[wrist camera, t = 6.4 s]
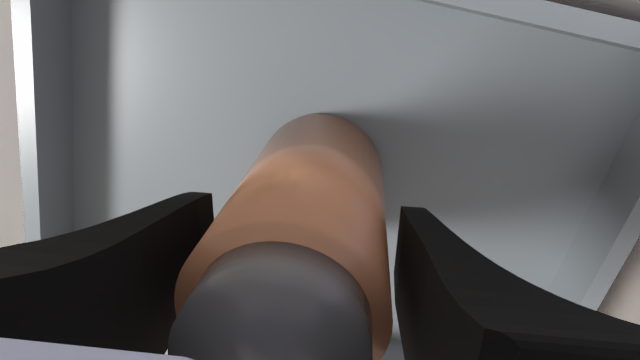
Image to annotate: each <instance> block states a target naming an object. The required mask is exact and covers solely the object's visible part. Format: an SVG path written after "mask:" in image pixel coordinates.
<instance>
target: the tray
mask: <svg viewBox="0 0 640 360" xmlns="http://www.w3.org/2000/svg"><path fill="white" fill-rule="evenodd" d="M11 15H12V32H13V48H14V65H15V82H16V98H17V115H18V131H19V148H20V164H21V181H22V197H23V214H24V231H25V243H27V242H32V241H37V240H42V239H46V238H50V237H55V236H58V235H62V234H66V233H70V232H74V231H77V230H80V229H84V228H87V227H90V226H94V225H97V224H100V223H102V222H105V221H108V220H111V219H114V218H117V217H120V216H122V215H125V214H128V213H131V212H134V211H136V210H139V209H141V208H144V207H146V206H149V205H152V204H154V203H157V202H159V201H162V200H165V199H167V198H170V197H173V196H176V195H179V194H182V193H186V192H203V193H212V199H213V213H214V219H215V218H216V216H217V215H218V214H219V212H220V211H221V209H222V208H223V206H224V205H225V203H226V202H227V201H228V199H229V198H230V196H231V195H232V193H233V192H234V190H235V189H236V187H237V186H238V185H239V183H240V182H241V180H242V179H243V177H244V176H245V174H246V173H247V172H248V170H249V169H250V167H251V166H252V164H253V163H254V161H255V160H256V159H257V157H258V156H259V154H260V153H261V151H262V150H263V148H264V147H265V146H266V144H267V143H268V141H269V140H270V138H271V137H272V136H273V134H274V133H275V132H276V131H277V130H278V129H279V128H280V127H282V126H283V125H285V124H286V123H288V122H289V121H291V120H293V119H296V118H298V117H301V116H305V115H311V114H327V115H334V116H337V117H341V118H343V119H346V120H348V121H350V122H352V123H353V124H355V125H357V126H358V127H359V128H360V129H362V130H363V131H364V132H365V133H366V134H367V135H368V136H369V137H370V139H371V140H372V142H373V143H374V145H375V147H376V148H377V150H378V153H379V156H380V159H381V163H382V173H383V187H384V201H385V215H386V229H387V243H388V257H389V271H390V285H391V299H392V313H393V328H392V335H391V339H390V343H389V346H388V348H387V350H386V352H385V354H384V356H383V357H382V359H381V360H405V359H404V353H403V348H402V342H401V336H400V331H399V325H398V319H397V313H396V307H395V293H394V266H395V256H396V247H397V237H398V228H399V219H400V209H401V206H407V207H422V208H426V209H427V210H428V211H429V212H431V213H432V214H433V215H434V216H435V217H436V218H437V219H439V220H440V221H441V222H442V223H443V224H444V225H445V226H447V227H448V228H449V229H450V230H451V231H452V232H454V233H455V234H456V235H457V236H458V237H460V238H461V239H462V240H463V241H465V242H466V243H467V244H469V245H470V246H471V247H473V248H474V249H475V250H477V251H478V252H480V253H481V254H482V255H484V256H485V257H487V258H488V259H490V260H491V261H493V262H494V263H496V264H497V265H499V266H501V267H503V268H504V269H506V270H508V271H509V272H511V273H513V274H515V275H516V276H518V277H520V278H522V279H524V280H526V281H528V282H530V283H531V284H534V285H536V286H538V287H540V288H542V289H544V290H546V291H549V292H551V293H553V294H555V295H557V296H559V297H562V298H564V299H567V300H569V301H571V302H574V303H576V304H579V305H581V306H584V307H587V308H590V309H592V310H595V311H597V309H598V308H599V306H600V304H601V302H602V301H603V299H604V297H605V295H606V294H607V292H608V290H609V288H610V287H611V285H612V283H613V282H614V280H615V278H616V276H617V275H618V273H619V271H620V269H621V268H622V266H623V264H624V262H625V261H626V259H627V257H628V255H629V254H630V252H631V250H632V249H633V247H634V245H635V243H636V242H637V240H638V238H639V236H640V22H637V21H633V20H628V19H624V18H620V17H615V16H611V15H607V14H602V13H598V12H594V11H589V10H585V9H580V8H576V7H572V6H567V5H563V4H559V3H554V2H550V1H546V0H11Z"/></svg>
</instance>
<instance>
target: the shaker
mask: <svg viewBox="0 0 640 360" xmlns="http://www.w3.org/2000/svg"><path fill="white" fill-rule="evenodd" d="M174 306H175V312H176V319H175V321H174V322H173V324H172V327H171V330H170V333H169V339H168V355H172V356H182V357H188V358H191V359H194V360H381V359H382V357H383V356H384V354H385V352H386V350H387V348H388V346H389V343H390V339H391V335H392V328H393V313H392V299H391V285H390V271H389V257H388V243H387V229H386V215H385V201H384V187H383V173H382V163H381V159H380V156H379V153H378V150H377V148H376V147H375V145H374V143H373V142H372V140H371V139H370V137H369V136H368V135H367V134H366V133H365V132H364V131H363V130H362V129H360V128H359V127H358V126H357V125H355V124H353V123H352V122H350V121H348V120H346V119H343V118H341V117H337V116H334V115H327V114H311V115H305V116H301V117H298V118H296V119H293V120H291V121H289V122H288V123H286V124H285V125H283V126H282V127H280V128H279V129H278V130H277V131H276V132H275V133H274V134H273V136H272V137H271V138H270V140H269V141H268V143H267V144H266V146H265V147H264V148H263V150H262V151H261V153H260V154H259V156H258V157H257V159H256V160H255V161H254V163H253V164H252V166H251V167H250V169H249V170H248V172H247V173H246V174H245V176H244V177H243V179H242V180H241V182H240V183H239V185H238V186H237V187H236V189H235V190H234V192H233V193H232V195H231V196H230V198H229V199H228V201H227V202H226V203H225V205H224V206H223V208H222V209H221V211H220V212H219V214H218V215H217V216H216V218H215V219H214V221H213V222H212V224H211V225H210V227H209V228H208V229H207V231H206V232H205V234H204V235H203V237H202V238H201V240H200V241H199V242H198V244H197V245H196V247H195V248H194V250H193V251H192V253H191V254H190V255H189V257H188V258H187V260H186V261H185V263H184V265H183V267H182V269H181V270H180V273H179V276H178V279H177V282H176V286H175V293H174Z"/></svg>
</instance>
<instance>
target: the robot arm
mask: <svg viewBox="0 0 640 360" xmlns="http://www.w3.org/2000/svg"><path fill="white" fill-rule="evenodd" d="M213 221H214V213H213V199H212V193H203V192H186V193H182V194H179V195H176V196H173V197H170V198H167V199H165V200H162V201H159V202H157V203H154V204H152V205H149V206H146V207H144V208H141V209H139V210H136V211H134V212H131V213H128V214H125V215H122V216H120V217H117V218H114V219H111V220H108V221H105V222H102V223H100V224H97V225H94V226H90V227H87V228H84V229H80V230H77V231H74V232H70V233H66V234H62V235H58V236H55V237H50V238H46V239H42V240H37V241H32V242H27V243H22V244H17V245H12V246H7V247H1V248H0V360H194V359H191V358H188V357H182V356H172V355H164V354H165V352H166V350H167V349H168V339H169V333H170V330H171V327H172V324H173V322H174V321H175V319H176V312H175V306H174V293H175V286H176V282H177V279H178V276H179V273H180V270H181V269H182V267H183V265H184V263H185V261H186V260H187V258H188V257H189V255H190V254H191V253H192V251H193V250H194V248H195V247H196V245H197V244H198V242H199V241H200V240H201V238H202V237H203V235H204V234H205V232H206V231H207V229H208V228H209V227H210V225H211V224H212V222H213ZM394 293H395V307H396V313H397V319H398V325H399V331H400V336H401V342H402V348H403V353H404V359H405V360H640V325H638V324H634V323H631V322H628V321H624V320H621V319H618V318H615V317H612V316H609V315H606V314H603V313H601V312H598V311H595V310H592V309H590V308H587V307H584V306H581V305H579V304H576V303H574V302H571V301H569V300H567V299H564V298H562V297H559V296H557V295H555V294H553V293H551V292H549V291H546V290H544V289H542V288H540V287H538V286H536V285H534V284H531V283H530V282H528V281H526V280H524V279H522V278H520V277H518V276H516V275H515V274H513V273H511V272H509V271H508V270H506V269H504V268H503V267H501V266H499V265H497V264H496V263H494V262H493V261H491V260H490V259H488V258H487V257H485V256H484V255H482V254H481V253H480V252H478V251H477V250H475V249H474V248H473V247H471V246H470V245H469V244H467V243H466V242H465V241H463V240H462V239H461V238H460V237H458V236H457V235H456V234H455V233H454V232H452V231H451V230H450V229H449V228H448V227H447V226H445V225H444V224H443V223H442V222H441V221H440V220H439V219H437V218H436V217H435V216H434V215H433V214H432V213H431V212H429V211H428V210H427V209H426V208H422V207H407V206H401V209H400V219H399V228H398V237H397V247H396V256H395V266H394Z"/></svg>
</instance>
